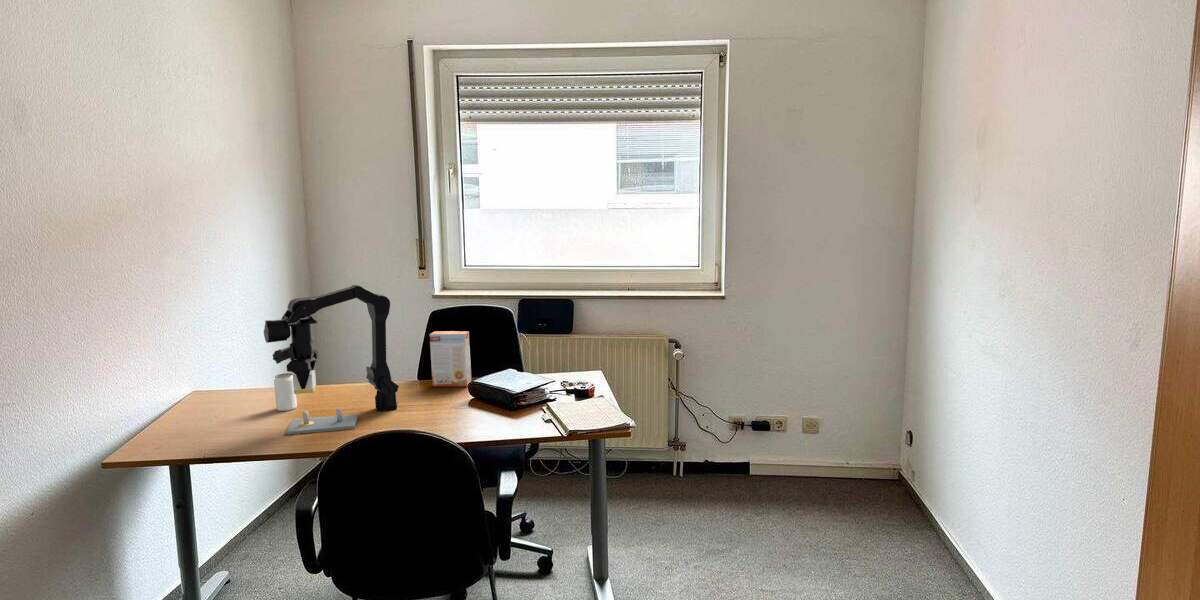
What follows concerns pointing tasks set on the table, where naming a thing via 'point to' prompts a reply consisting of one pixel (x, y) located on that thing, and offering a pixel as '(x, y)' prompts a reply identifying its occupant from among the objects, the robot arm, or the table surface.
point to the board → (322, 423)
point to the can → (284, 392)
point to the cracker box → (450, 358)
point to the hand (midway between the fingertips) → (305, 386)
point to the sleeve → (309, 386)
